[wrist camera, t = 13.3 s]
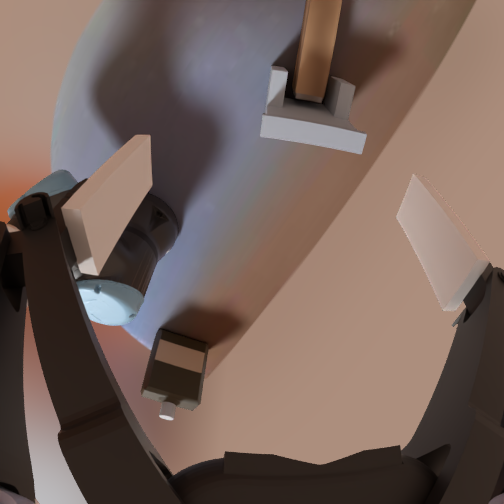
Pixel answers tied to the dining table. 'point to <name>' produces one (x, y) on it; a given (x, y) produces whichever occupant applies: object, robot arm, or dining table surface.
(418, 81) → the dining table surface
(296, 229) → the dining table surface
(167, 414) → the bottle
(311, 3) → the rail
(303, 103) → the grey u-shaped bracket
